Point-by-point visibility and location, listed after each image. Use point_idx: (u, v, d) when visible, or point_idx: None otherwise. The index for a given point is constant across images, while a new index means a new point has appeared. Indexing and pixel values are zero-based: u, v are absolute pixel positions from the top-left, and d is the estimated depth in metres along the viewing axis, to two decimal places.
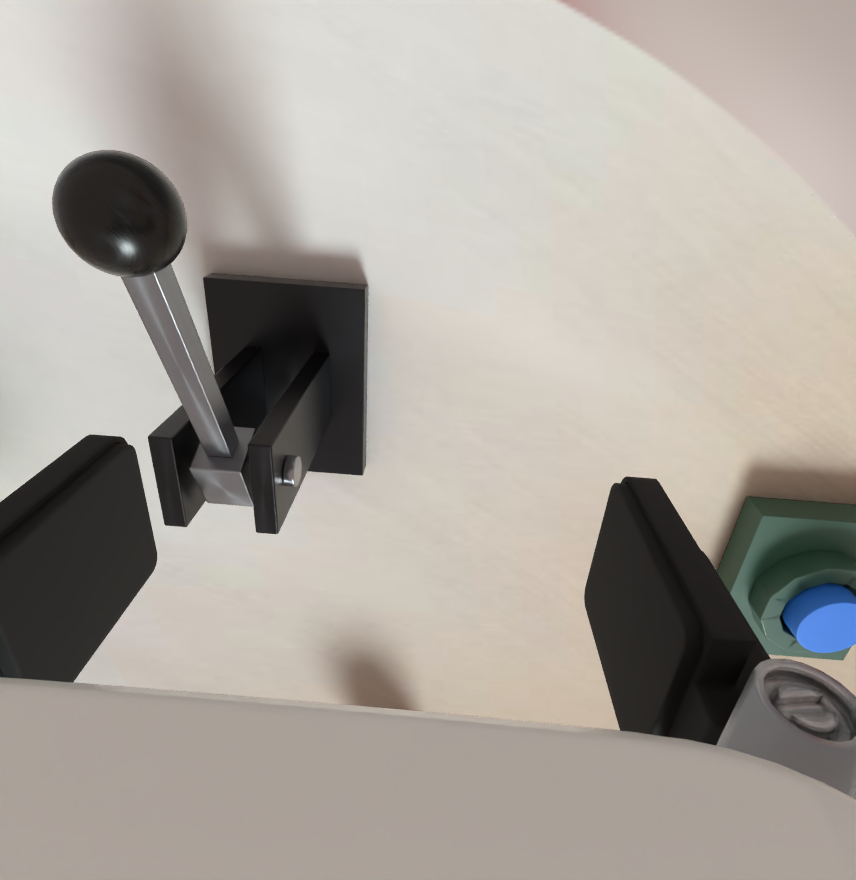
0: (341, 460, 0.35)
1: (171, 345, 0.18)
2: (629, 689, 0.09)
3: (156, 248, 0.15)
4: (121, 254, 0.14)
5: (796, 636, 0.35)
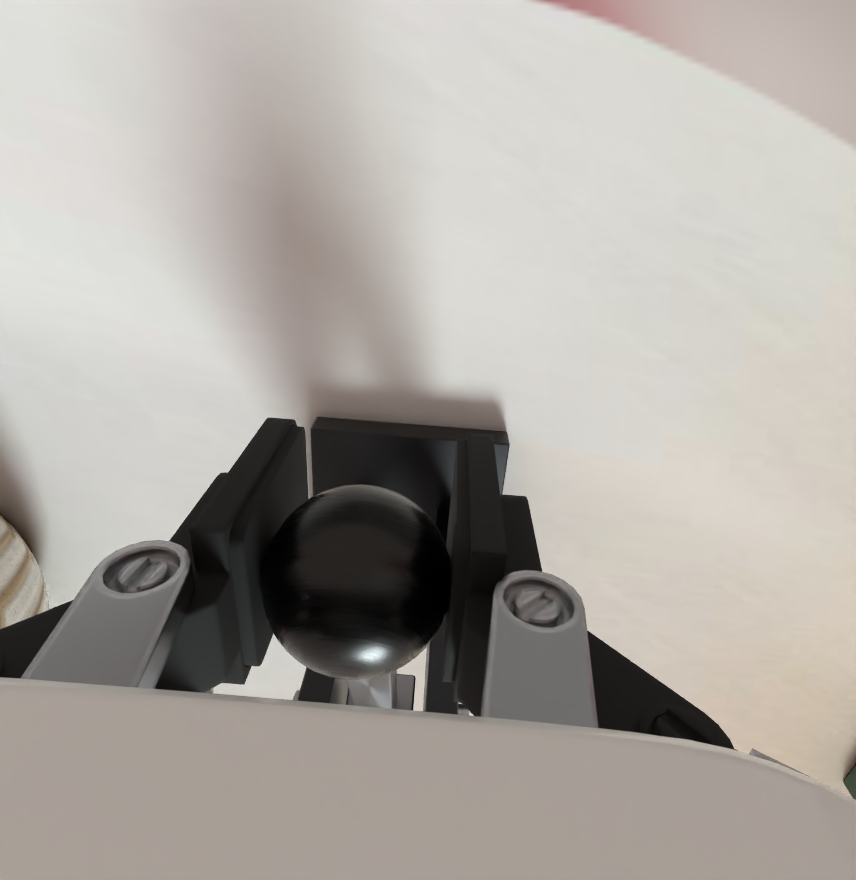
0: None
1: None
2: (446, 614, 0.10)
3: None
4: None
5: None
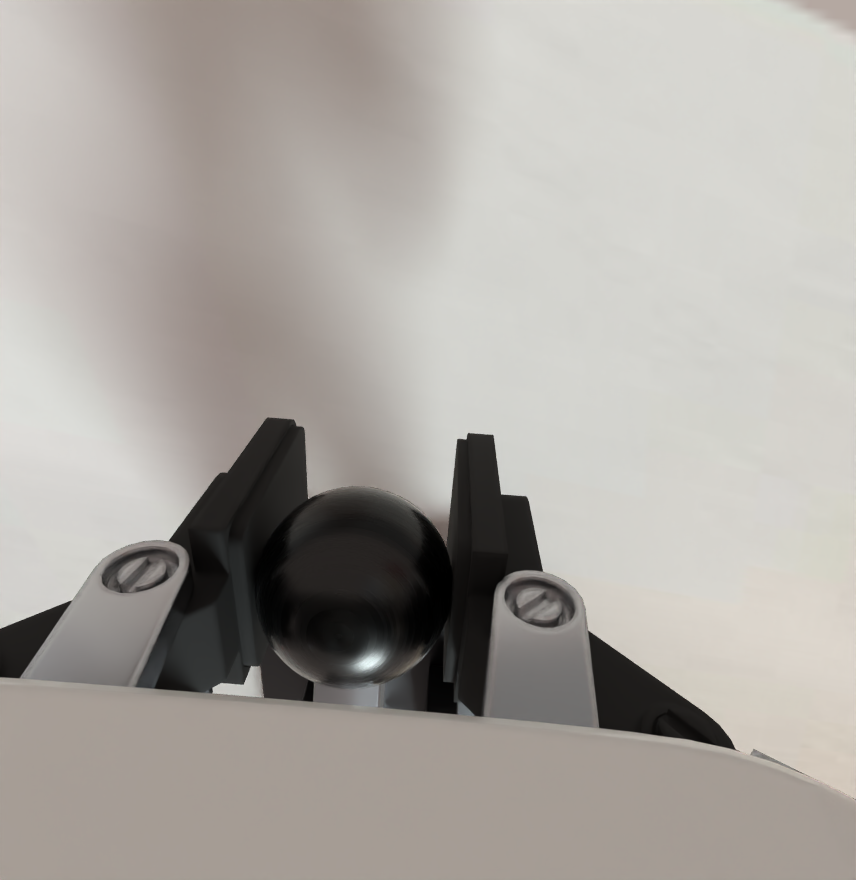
0: None
1: None
2: None
3: (424, 635, 0.08)
4: (373, 645, 0.08)
5: None
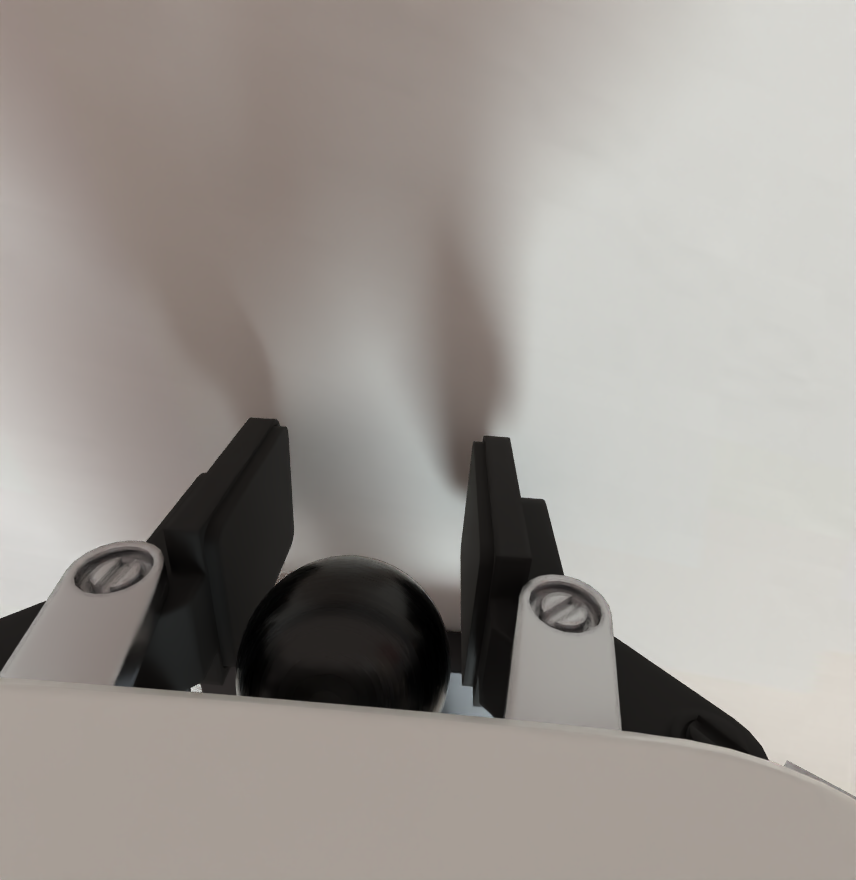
0: None
1: None
2: (465, 618, 0.10)
3: None
4: None
5: None
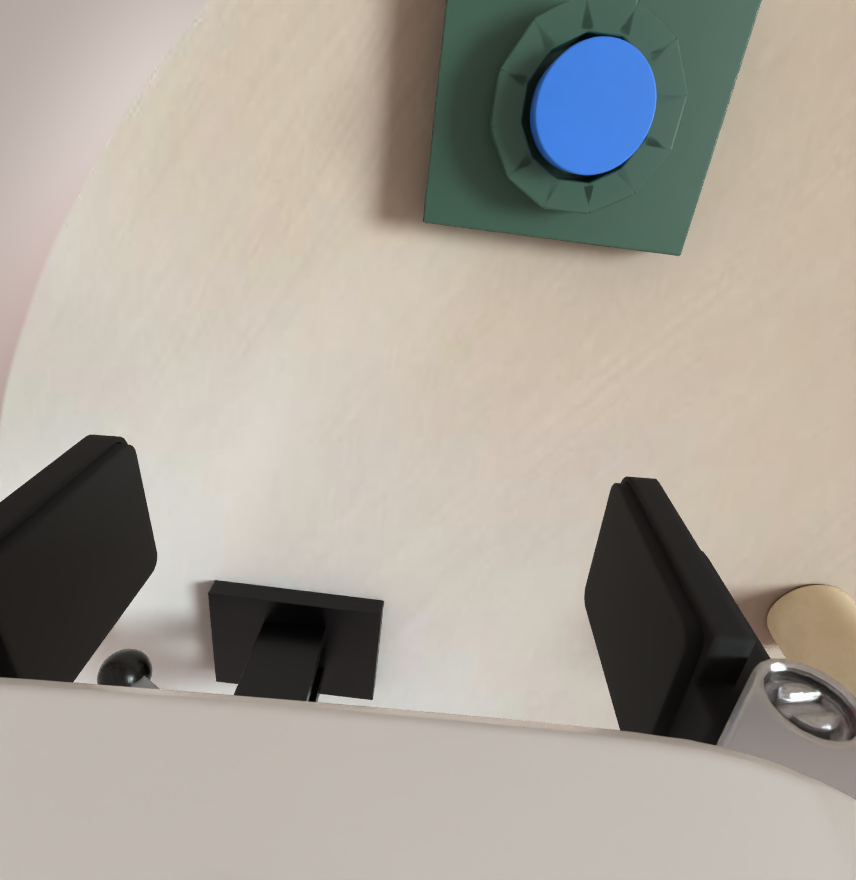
0: (365, 626, 0.39)
1: None
2: (629, 689, 0.09)
3: (110, 674, 0.35)
4: None
5: (608, 170, 0.21)
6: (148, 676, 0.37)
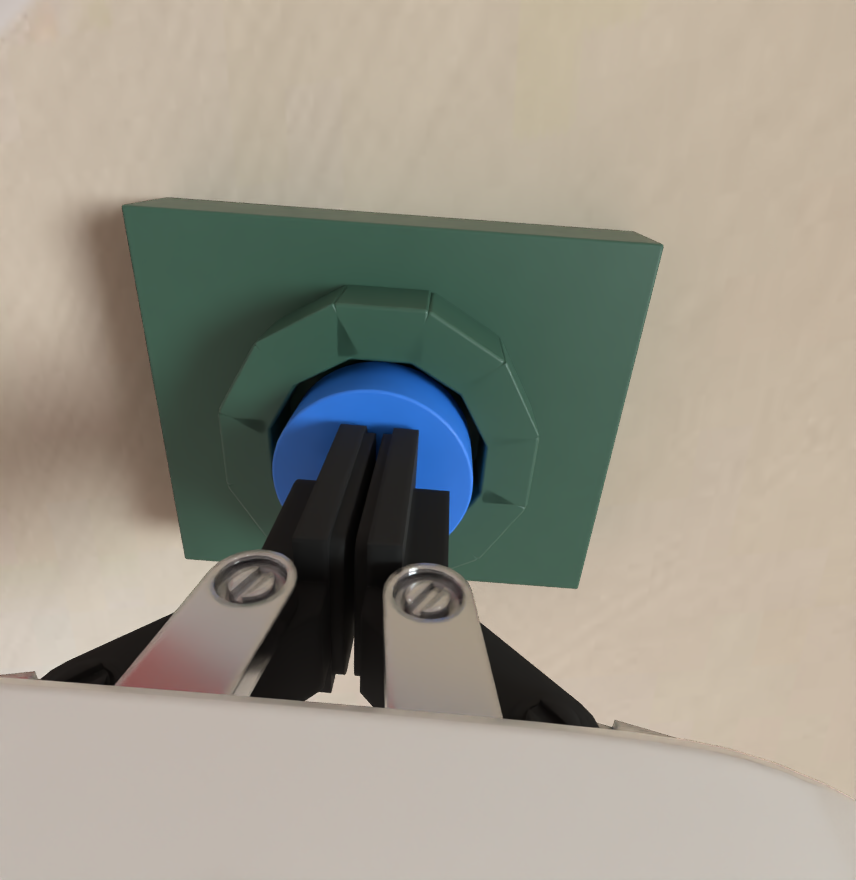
0: None
1: None
2: None
3: None
4: None
5: None
6: None
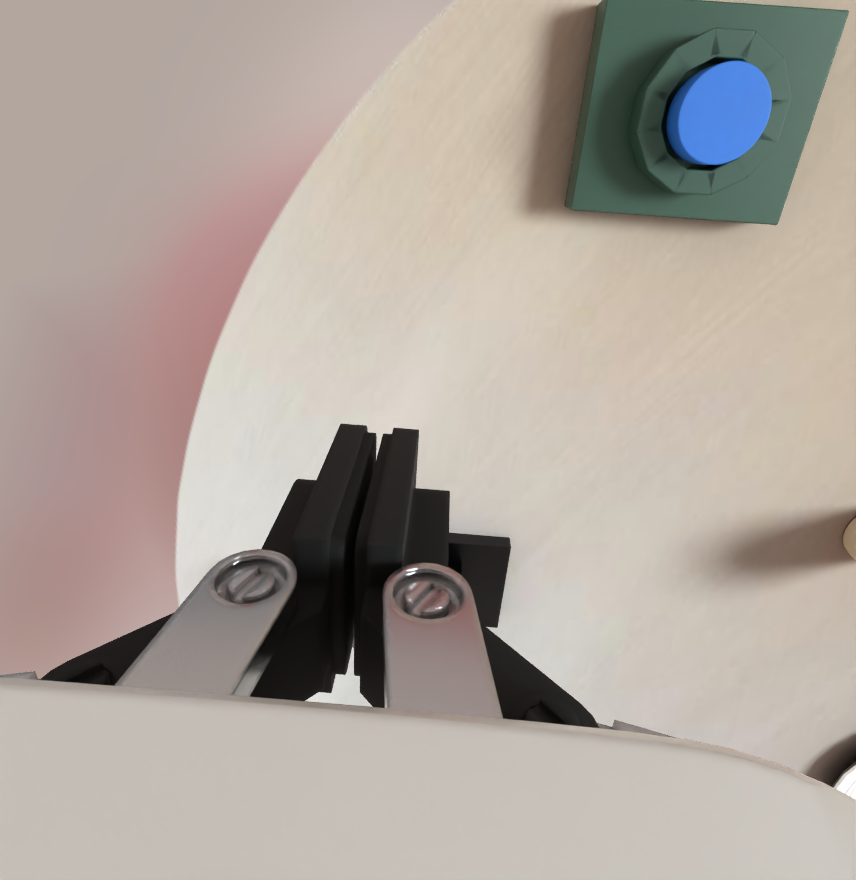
0: (496, 559, 0.45)
1: None
2: None
3: None
4: None
5: (731, 160, 0.28)
6: None
